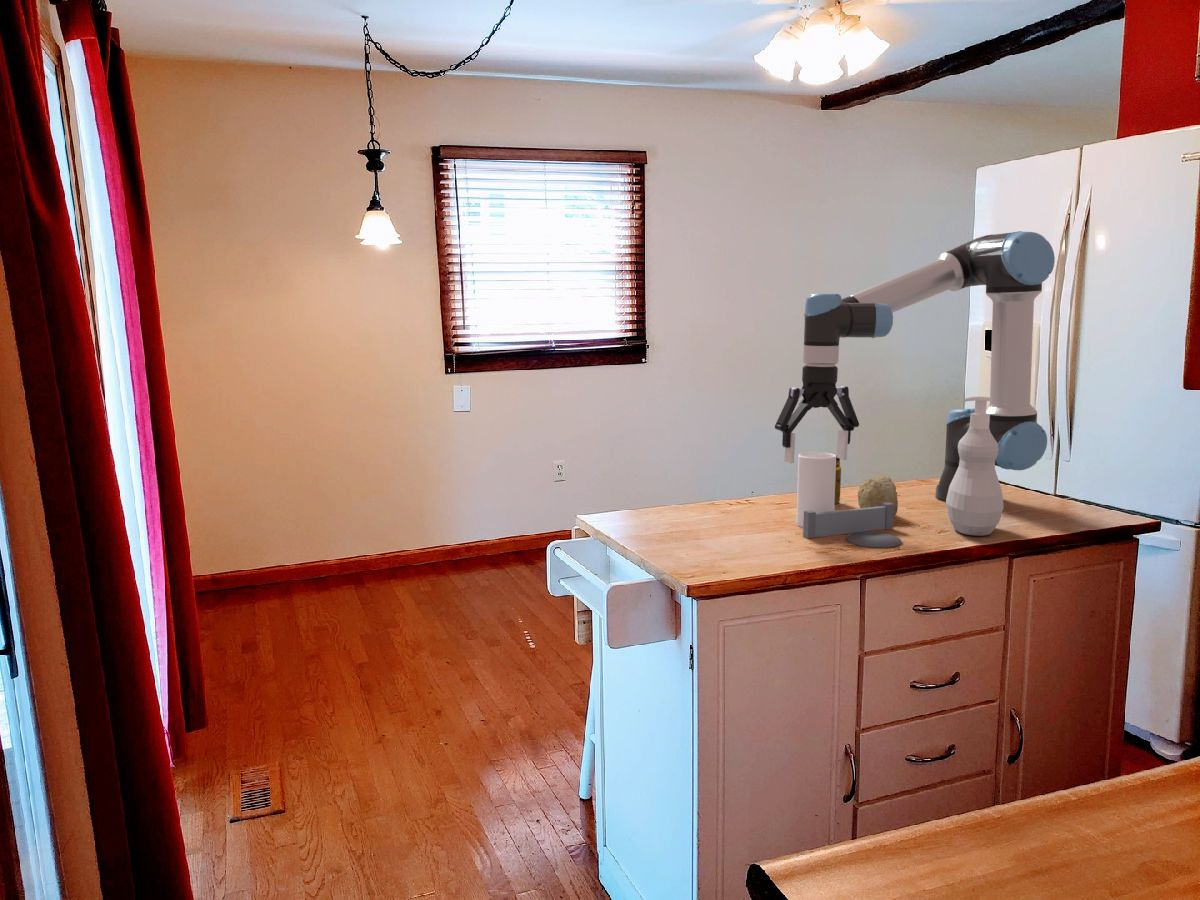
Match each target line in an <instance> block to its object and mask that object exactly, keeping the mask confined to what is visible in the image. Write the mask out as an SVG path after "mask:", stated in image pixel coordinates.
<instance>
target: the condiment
mask: <svg viewBox="0 0 1200 900" xmlns="http://www.w3.org/2000/svg"><path fill="white" fill-rule="evenodd" d="M835 455H836V477H835V503H834V507H837V506H840V505H844V504H846V503H847V502H846V501H841V480H842V478H841V477H842V467H841V466H840V465H841V462H840V460H841V459H839V458H837V454H835Z"/></svg>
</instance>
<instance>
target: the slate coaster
mask: <svg viewBox="0 0 1200 900" xmlns="http://www.w3.org/2000/svg"><path fill="white" fill-rule="evenodd" d="M846 541H847V542H849V544H852V545H855V546H859V547H863V548H864V547H865V548H871V549H872V548H873V549H886V548H887V549H888V548H889V549H890V548H896V547H898V546H901V545H902V539H901V538H899V536H895V535H893V534H888V533H883V532H873V531H865V532H856V533H849V534H848V535H847V536H846Z"/></svg>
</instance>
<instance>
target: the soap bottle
mask: <svg viewBox="0 0 1200 900" xmlns="http://www.w3.org/2000/svg"><path fill="white" fill-rule="evenodd" d="M990 400H991V399H990V396H989V397H988V396H970V397H967V398H963V399H962V402H963V403H964V402H973V401H974V409H975V413H971V414H970V427H969V429H968V431H967V433H966V434H965V435H964V436H963V437H962V438H961V440H960V441H959V443H958V453H959V457H960V462H959V467H958V469H957V471H956V473H955V475H954V478H953V480H952V482H951V484H950V486H949V490H948V494H947V498H946V501H945V504H946V511H947V516H948V519H949V521H950V523H951V525H952V527H953V529H954V530H955V531H957V532H959V533H960V534H964V535H968V536H976V537H977V536H979V537H980V536H987V535H990V534H992V533H993V531H994V530H995V529H996V527H997V526H998V524H999V523H1000V521H1001V517H1002V514H1003V512H1004V506H1005V504H1004V498H1003V497H1004V496H1003V491H1002V487H1001V484H1000V481H999V477H998V474H997V472H996V471H997V470H996V465H995V460H996V458H997V455H998V451H999V448H998V443H997V442H996V440H995V439H994V437H993V436H992V434H991V432H990V428H989V421H990V414H986V407H987V406H988V403H987V402H990Z"/></svg>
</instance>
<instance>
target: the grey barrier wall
mask: <svg viewBox="0 0 1200 900" xmlns="http://www.w3.org/2000/svg"><path fill="white" fill-rule="evenodd" d="M893 514H894V504H892V503H889V502H888V503H882V506H878V507H868V508H860V507H859V508H851V509H843V510H842V509H840V510H834V511H829V512H820V513H816V512H814V511H812V510H809V511H804V524H803V527H802V528H803V529H802V530H803V531H802V536H803V537H804V538H806V539H815V538H819V537H828V536H837V535H839V536H840V535H846V534H853V533H858V532H873V531H881V530H882V531H883V530H893V529H894V516H893Z"/></svg>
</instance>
